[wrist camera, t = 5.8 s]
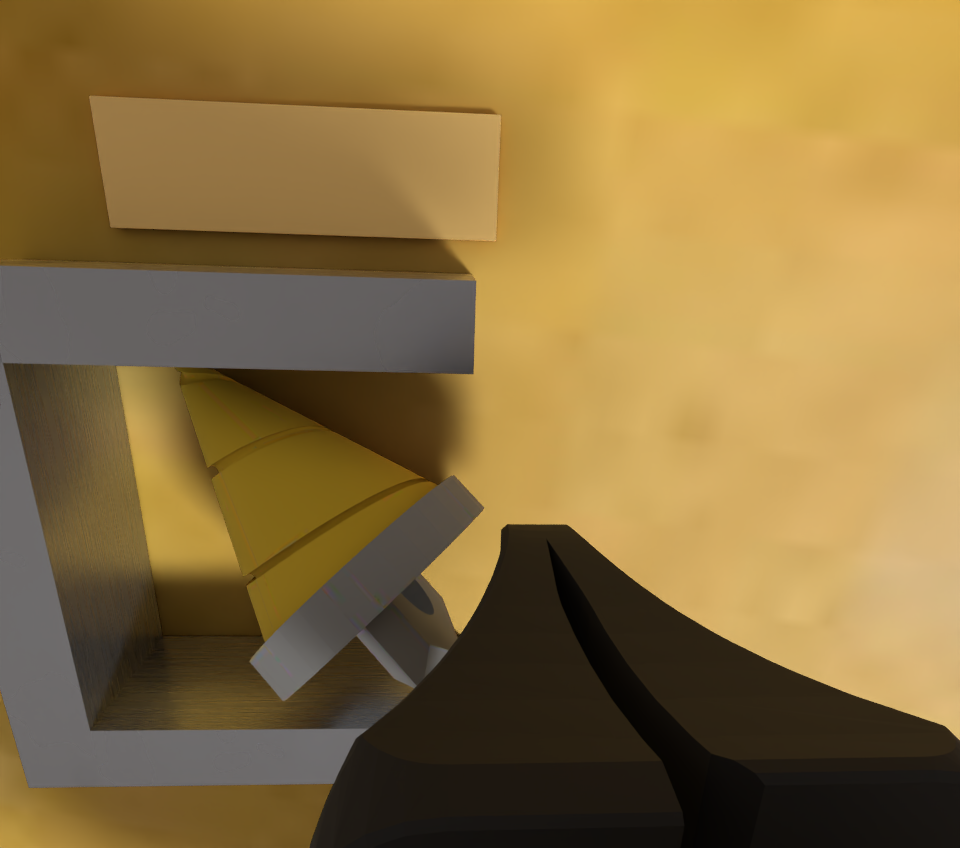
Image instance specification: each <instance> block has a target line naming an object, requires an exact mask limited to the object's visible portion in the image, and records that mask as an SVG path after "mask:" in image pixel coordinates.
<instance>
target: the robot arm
mask: <svg viewBox="0 0 960 848" xmlns="http://www.w3.org/2000/svg"><path fill="white" fill-rule="evenodd" d="M310 848H960V740H959V739H958V738H957V737H956V736H955V735H954V734H953V733H951V732H950V731H949V730H948V729H947V728H946V727H945V726H943V725H940V724H937V723H934V722H931V721H928V720H925V719H922V718H919V717H916V716H913V715H910V714H907V713H904V712H901V711H898V710H895V709H892V708H889V707H886V706H883V705H880V704H877V703H874V702H871V701H868V700H865V699H862V698H859V697H856V696H854V695H851V694H848V693H846V692H843V691H840V690H838V689H835V688H833V687H831V686H828V685H826V684H823V683H821V682H818V681H816V680H813V679H811V678H808V677H806V676H803V675H801V674H798V673H796V672H794V671H791V670H789V669H787V668H785V667H782V666H780V665H778V664H776V663H773V662H771V661H769V660H767V659H765V658H763V657H761V656H759V655H757V654H755V653H753V652H751V651H749V650H747V649H745V648H743V647H740V646H738V645H736V644H734V643H732V642H730V641H729V640H727V639H725V638H723V637H721V636H719V635H717V634H716V633H714V632H712V631H710V630H708V629H707V628H705V627H703V626H702V625H700V624H698V623H697V622H695V621H693V620H692V619H690V618H688V617H687V616H685V615H683V614H682V613H680V612H678V611H677V610H675V609H674V608H672V607H671V606H669V605H668V604H666V603H665V602H663V601H662V600H660V599H659V598H658V597H656V596H655V595H653V594H652V593H651V592H649V591H648V590H646V589H645V588H644V587H642V586H641V585H639V584H638V583H637V582H635V581H634V580H633V579H632V578H630V577H629V576H628V575H626V574H625V573H624V572H623V571H621V570H620V569H619V568H618V567H616V566H615V565H614V564H613V563H612V562H610V561H609V560H608V559H607V558H606V557H604V556H603V555H602V554H601V553H600V552H599V551H597V550H596V549H595V548H594V547H593V546H592V545H590V544H589V543H588V542H587V541H586V540H585V539H584V538H582V537H581V536H580V535H579V534H578V533H577V532H576V531H574V530H573V529H572V528H571V527H569V526H568V525H512V524H507V525H506V526H505V527H504V528H503V529H502V530H501V551H500V556H499V559H498V562H497V565H496V567H495V570H494V573H493V576H492V578H491V581H490V583H489V585H488V587H487V589H486V591H485V593H484V595H483V597H482V600H481V602H480V603H479V605H478V607H477V609H476V611H475V612H474V614H473V616H472V617H471V619H470V621H469V622H468V624H467V625H466V627H465V628H464V630H463V631H462V633H461V634H460V636H459V637H458V638H457V640H456V641H455V642H454V644H453V645H452V646H451V648H450V649H449V650H448V652H447V653H446V654H445V656H444V657H443V658H442V659H441V660H440V662H439V663H438V664H437V665H436V666H435V667H434V668H433V669H432V671H431V672H430V673H429V674H428V675H427V676H426V677H425V678H424V679H423V680H422V681H421V682H420V683H419V684H418V685H417V686H416V687H415V688H414V689H413V690H412V691H411V692H410V693H409V694H408V695H407V696H406V697H405V698H404V699H403V700H402V701H401V702H400V703H399V704H398V705H397V706H395V707H394V708H393V709H392V710H390V711H389V712H388V713H387V714H386V715H384V716H383V717H382V718H381V719H380V720H378V721H377V722H376V723H375V724H374V725H372V726H371V727H370V728H369V729H368V730H366V731H365V732H364V733H362V734H361V735H360V736H358V737H357V738H356V739H355V741H354V743H353V745H352V747H351V749H350V751H349V753H348V755H347V757H346V759H345V761H344V763H343V765H342V767H341V769H340V771H339V773H338V775H337V777H336V780H335V782H334V784H333V786H332V789H331V791H330V793H329V795H328V798H327V800H326V803H325V805H324V808H323V810H322V813H321V816H320V818H319V821H318V824H317V827H316V829H315V832H314V835H313V838H312V841H311V844H310Z"/></svg>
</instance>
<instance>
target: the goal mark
mask: <svg viewBox="0 0 960 848" xmlns="http://www.w3.org/2000/svg"><path fill="white" fill-rule="evenodd" d="M89 100H90V106H91V112H92V118H93V124H94V130H95V136H96V142H97V148H98V155H99V161H100V167H101V173H102V179H103V185H104V191H105V197H106V203H107V210H108V216H109V222H110V227H112V228H135V229H163V230H192V231H220V232H248V233H276V234H304V235H333V236H361V237H389V238H417V239H445V240H473V241H496V231H497V205H498V180H499V155H500V129H501V115H493V114H472V113H451V112H429V111H408V110H386V109H365V108H344V107H322V106H301V105H280V104H258V103H237V102H215V101H194V100H173V99H151V98H130V97H109V96H89Z"/></svg>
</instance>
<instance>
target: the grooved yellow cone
mask: <svg viewBox="0 0 960 848" xmlns="http://www.w3.org/2000/svg"><path fill="white" fill-rule="evenodd" d="M175 369H176V370H177V371H180V372H181V377H180V386H181V390H182V393H183V396H184V399H185V402H186V405H187V408H188V411H189V414H190V417H191V420H192V423H193V426H194V429H195V432H196V435H197V438H198V441H199V444H200V447H201V450H202V453H203V456H204V459H205V462H206V465H207V468H208V467H210V466H215V467H216V468H217V469H218V473H219V474H217V475H216V476H215V477H214V478H212V479H211V481H212V484H213V487H214V490H215V493H216V496H217V499H218V502H219V505H220V508H221V511H222V514H223V517H224V520H225V523H226V526H227V529H228V532H229V535H230V538H231V541H232V544H233V547H234V550H235V553H236V556H237V560H238V563H239V566H240V569H241V572H242V575H243V577H244V576H245V575H247V574H252V575H254V576H255V577H254V578H253V579H252V580H251V581H250V582H249V583H248V584H247V585H246V587H247V590H248V593H249V596H250V599H251V602H252V605H253V608H254V611H255V614H256V617H257V620H258V623H259V626H260V629H261V633H262V636H263V639H264V642H265V643H264V644H263V645H262V646H261V647H260V649H259V650H258V651H257V652H256V653H255V654H254V655H253V657H252V658H251V660H250V661H249V662H250V663H251V664H252V665H253V666H254V667H255V669H256V670H257V671H258V672H259V673H260V675H261V676H262V677H263V678H264V679H265V680H266V682H267V683H268V684H269V685H270V686H271V688H272V689H273V690H274V691H275V692H276V693H277V695H278V696H279V697H280V698H281V699H282V701H283V702H284V701H285V700H286V699H288V698H289V697H290V696H291V695H292V694H294V693H295V692H296V691H297V690H298V689H299V688H300V687H302V686H303V685H304V684H305V683H306V682H307V681H308V680H309V679H310V678H311V677H313V676H314V675H315V674H316V673H317V672H318V671H319V670H320V669H321V668H322V667H323V666H324V665H326V664H327V663H328V662H329V661H330V660H331V659H332V658H333V657H334V656H335V655H336V654H337V653H338V652H339V651H341V650H342V649H343V648H344V647H345V646H346V645H347V644H348V643H349V642H350V641H351V640H352V639H353V638H354V637H355V636H357V637H358V638H359V639H360V640H361V642H362V643H363V644H364V645H365V646H366V647H367V648H368V650H369V651H370V652H371V653H372V654H373V655H374V656H375V657H376V659H377V660H378V661H379V662H380V663H381V664H382V665H383V667H384V668H385V669H386V670H387V671H388V672H389V673H390V675H391V676H392V677H393V678H394V679H396V680H398V681H400V682H402V683H404V684H406V685H408V686H411V687H413V688H415V687H416V686H417V685H418V684H419V683H420V682H421V681H422V680H423V679H424V678H425V677H426V676H427V675H428V674H429V673H430V672H431V671H432V669H433V668H434V667H435V666H436V665H437V664H438V663H439V662H440V660H441V659H442V658H443V657H444V656H445V654H446V653H447V652H448V650H449V649H450V648H451V646H452V645H453V644H454V642H455V641H456V640H457V635H456V632H455V630H454V627H453V624H452V622H451V619H450V617H449V614H448V611H447V609H446V606H445V603H444V601H443V598H442V597H441V596H440V595H439V594H438V592H437V591H436V590H435V589H434V588H433V587H432V586H431V585H430V584H429V583H428V581H427V580H426V579H425V578H424V577H423V576H422V575H421V573H422V572H423V571H424V570H425V569H426V568H427V567H428V566H429V565H430V564H431V563H432V562H433V561H434V560H435V559H436V558H437V557H438V556H439V555H440V554H441V553H442V552H443V551H444V550H445V549H446V548H447V547H448V546H449V545H450V544H451V543H452V542H453V541H454V540H455V539H456V538H457V537H458V536H459V535H460V534H461V533H462V532H463V531H464V530H465V529H466V528H467V527H468V525H469V524H470V523H471V522H472V521H473V520H474V519H475V518H476V517H477V516H478V515H479V514H480V513H481V512H482V510H483V509H484V507H483V506H482V505H481V504H480V503H479V502H478V501H477V499H476V498H475V497H474V496H473V495H472V494H471V493H470V492H469V491H468V490H467V489H466V488H465V487H464V486H463V484H462V483H461V482H460V481H459V480H458V479H457V478H456V477H455V476H454V475H453V476H450V477H449V478H447V479H446V480H444V481H443V482H441V483H440V484H439V485H437V484H435V483H433V482H429V481H428V480H427V479H425V478H423V477H421V476H419V475H417V474H415V473H413V472H411V471H409V470H408V469H406V468H404V467H402V466H400V465H398V464H396V463H394V462H392V461H390V460H388V459H386V458H384V457H382V456H380V455H378V454H376V453H375V452H373V451H371V450H369V449H367V448H365V447H363V446H361V445H359V444H357V443H355V442H353V441H351V440H349V439H347V438H345V437H344V436H342V435H340V434H338V433H335V432H332V431H331V430H330V429H328V428H326V427H324V426H322V425H320V424H318V423H316V422H314V421H312V420H311V419H309V418H307V417H305V416H303V415H301V414H299V413H297V412H295V411H293V410H291V409H289V408H287V407H285V406H283V405H281V404H279V403H278V402H276V401H274V400H272V399H270V398H268V397H266V396H264V395H262V394H260V393H258V392H256V391H254V390H252V389H250V388H248V387H246V386H244V385H242V384H240V383H238V382H236V381H235V380H233V379H231V378H229V377H227V376H225V375H223V374H221V373H219V372H217V371H215V370H213V369H212V368H193V367H175Z"/></svg>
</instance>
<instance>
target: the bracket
mask: <svg viewBox="0 0 960 848" xmlns="http://www.w3.org/2000/svg"><path fill="white" fill-rule="evenodd" d="M475 300H476V280H475V278H474V277H473V275H472V274H459V273H429V272H398V271H367V270H336V269H306V268H275V267H244V266H213V265H182V264H152V263H121V262H90V261H59V260H28V259H3V260H0V691H1V694H2V697H3V701H4V704H5V708H6V711H7V714H8V718H9V721H10V725H11V728H12V732H13V735H14V738H15V742H16V745H17V749H18V752H19V755H20V759H21V762H22V766H23V769H24V773H25V776H26V779H27V783H28V786H29V788H47V787H125V786H203V785H281V784H334V782H335V780H336V777H337V775H338V773H339V771H340V769H341V767H342V765H343V763H344V761H345V759H346V757H347V755H348V753H349V751H350V749H351V747H352V745H353V743H354V741H355V739H356V738H357V737H358V736H360V735H361V734H362V733H364V732H365V731H366V730H368V729H369V728H370V727H371V726H372V725H374V724H375V723H376V722H377V721H378V720H380V719H381V718H382V717H383V716H384V715H386V714H387V713H388V712H389V711H390V710H392V709H393V708H394V707H395V706H397V705H398V704H399V703H400V702H401V701H402V700H403V699H404V698H405V697H406V696H407V695H408V694H409V693H410V692H411V691H412V690H413V689H414V688H413V687H411V686H408V685H406V684H404V683H402V682H400V681H398V680H396V679H394V678H393V677H392V676H391V675H390V673H389V672H388V671H387V670H386V669H385V668H384V667H383V665H382V664H381V663H380V662H379V661H378V660H377V659H376V657H375V656H374V655H373V654H372V653H371V652H370V651H369V650H368V648H367V647H366V646H365V645H364V644H363V643H362V642H361V640H360V639H359V638H358V637H357V636H355V637H354V638H353V639H352V640H351V641H350V642H349V643H348V644H347V645H346V646H345V647H344V648H343V649H342V650H341V651H339V652H338V653H337V654H336V655H335V656H334V657H333V658H332V659H331V660H330V661H329V662H328V663H327V664H326V665H324V666H323V667H322V668H321V669H320V670H319V671H318V672H317V673H316V674H315V675H314V676H313V677H311V678H310V679H309V680H308V681H307V682H306V683H305V684H304V685H303V686H302V687H300V688H299V689H298V690H297V691H296V692H295V693H294V694H292V695H291V696H290V697H289V698H288V699H286V700H285V701H284V702H283V701H282V699H281V698H280V697H279V696H278V695H277V693H276V692H275V691H274V690H273V689H272V688H271V686H270V685H269V684H268V683H267V682H266V680H265V679H264V678H263V677H262V676H261V675H260V673H259V672H258V671H257V670H256V669H255V667H254V666H253V665H252V664H251V663H250V662H249V661H250V660H251V658H252V657H253V655H254V654H255V653H256V652H257V651H258V650H259V649H260V647H261V646H262V645H263V644H264V643H265V642H264V639H263V636H163V635H162V630H161V624H160V618H159V612H158V607H157V601H156V595H155V589H154V584H153V578H152V572H151V566H150V561H149V555H148V549H147V543H146V537H145V532H144V526H143V520H142V514H141V509H140V503H139V497H138V491H137V486H136V480H135V474H134V468H133V462H132V457H131V451H130V445H129V439H128V434H127V428H126V422H125V416H124V411H123V405H122V399H121V393H120V387H119V382H118V376H117V370H116V366H151V367H193V368H235V369H278V370H320V371H363V372H405V373H448V374H473V368H474V334H475ZM458 637H459V636H457V638H458Z"/></svg>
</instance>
